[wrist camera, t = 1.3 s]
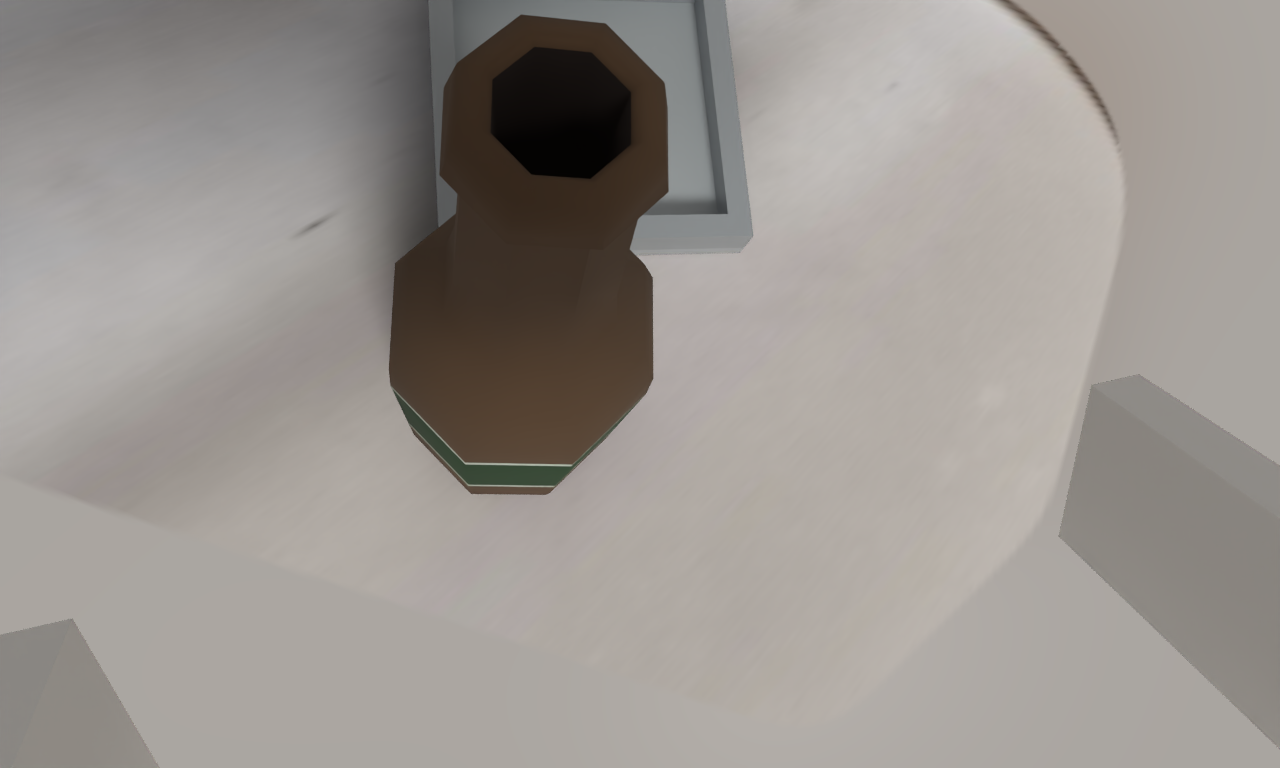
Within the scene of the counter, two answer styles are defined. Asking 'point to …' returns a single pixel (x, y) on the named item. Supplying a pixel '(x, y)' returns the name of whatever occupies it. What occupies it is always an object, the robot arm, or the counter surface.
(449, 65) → the keeper tray
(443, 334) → the beer bottle
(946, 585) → the counter surface
